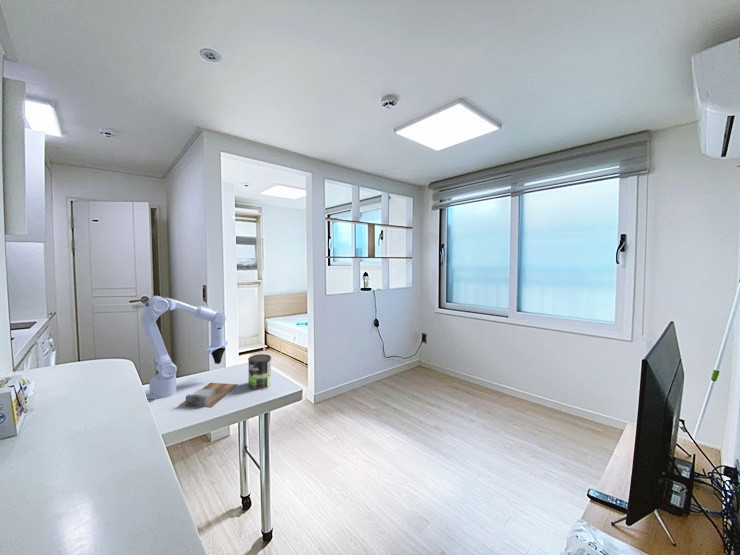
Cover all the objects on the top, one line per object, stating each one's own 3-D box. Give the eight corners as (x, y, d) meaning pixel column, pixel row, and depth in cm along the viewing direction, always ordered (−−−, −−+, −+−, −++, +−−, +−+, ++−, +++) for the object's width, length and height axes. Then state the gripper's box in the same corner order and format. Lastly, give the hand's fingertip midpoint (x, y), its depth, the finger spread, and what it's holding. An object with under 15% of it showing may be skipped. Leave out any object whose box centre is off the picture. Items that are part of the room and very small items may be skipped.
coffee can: (258, 393, 137) (258, 363, 136) (243, 387, 142) (243, 358, 141) (275, 384, 146) (275, 356, 145) (260, 380, 151) (260, 352, 150)
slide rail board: (178, 407, 123) (178, 396, 122) (210, 384, 145) (210, 374, 144) (211, 409, 122) (211, 398, 122) (238, 385, 144) (238, 376, 143)
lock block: (190, 403, 125) (190, 395, 124) (200, 396, 131) (199, 389, 130) (206, 404, 124) (206, 396, 124) (215, 397, 130) (215, 390, 130)
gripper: (216, 340, 138) (217, 369, 139) (233, 332, 153) (233, 358, 154) (202, 339, 139) (202, 368, 140) (219, 331, 153) (220, 357, 154)
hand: (217, 363), depth 147 cm, fingers closed
